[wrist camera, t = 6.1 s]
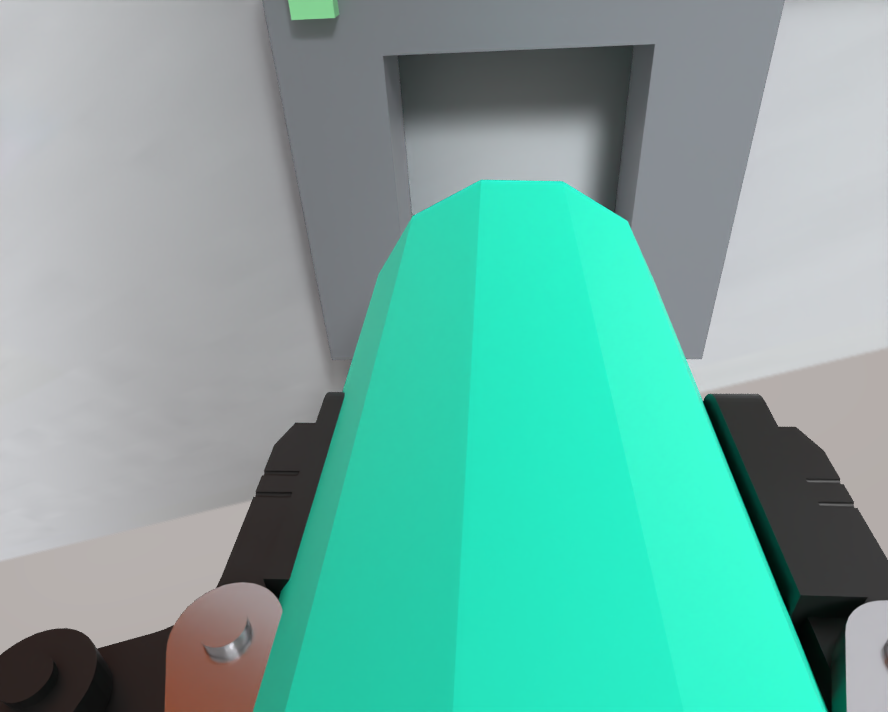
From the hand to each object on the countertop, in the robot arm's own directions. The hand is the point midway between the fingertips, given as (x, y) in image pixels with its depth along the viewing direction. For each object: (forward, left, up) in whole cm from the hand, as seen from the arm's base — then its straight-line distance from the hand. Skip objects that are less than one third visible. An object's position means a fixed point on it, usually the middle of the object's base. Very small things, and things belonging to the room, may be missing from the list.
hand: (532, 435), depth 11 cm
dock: (0, 0, -15) cm, 15 cm away
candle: (0, 0, -4) cm, 4 cm away
